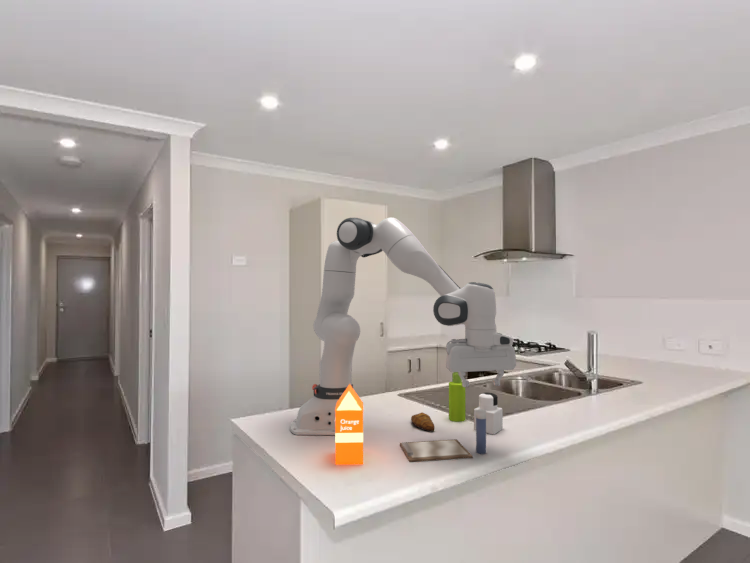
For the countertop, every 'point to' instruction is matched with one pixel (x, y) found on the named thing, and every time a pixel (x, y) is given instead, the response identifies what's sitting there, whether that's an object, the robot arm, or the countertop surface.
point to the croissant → (423, 421)
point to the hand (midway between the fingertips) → (481, 386)
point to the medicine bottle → (490, 412)
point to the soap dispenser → (457, 399)
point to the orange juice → (349, 429)
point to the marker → (481, 431)
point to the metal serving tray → (434, 450)
